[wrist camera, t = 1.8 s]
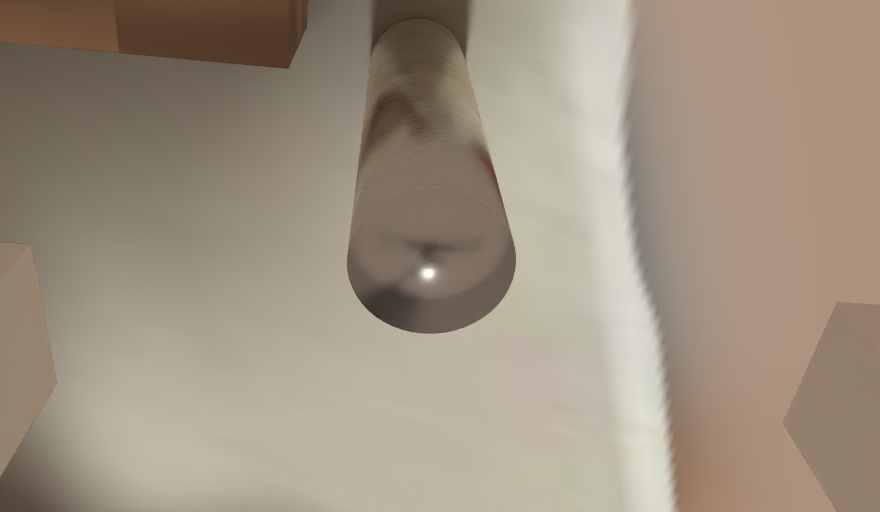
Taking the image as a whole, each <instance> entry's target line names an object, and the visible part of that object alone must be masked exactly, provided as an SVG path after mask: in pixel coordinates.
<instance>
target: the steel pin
mask: <svg viewBox="0 0 880 512" xmlns="http://www.w3.org/2000/svg"><path fill="white" fill-rule="evenodd" d="M515 265H516V253H515V247H514V242H513V238H512V235H511V231H510V227H509V223H508V220H507V216H506V212H505V208H504V205H503V201H502V197H501V193H500V190H499V186H498V182H497V178H496V175H495V171H494V167H493V163H492V160H491V156H490V152H489V148H488V145H487V141H486V137H485V133H484V130H483V126H482V122H481V118H480V115H479V111H478V107H477V103H476V100H475V96H474V92H473V88H472V85H471V81H470V77H469V73H468V70H467V66H466V62H465V58H464V55H463V51H462V48H461V46H460V44H459V42H458V40H457V39H456V37H455V36H454V35H453V34H452V33H451V32H450V31H449V30H448V29H447V28H446V27H444V26H443V25H441V24H439V23H437V22H435V21H432V20H428V19H423V18H413V19H407V20H403V21H400V22H398V23H396V24H394V25H392V26H391V27H389V28H388V29H387V30H386V31H385V32H384V33H383V34H382V35H381V36H380V37H379V39H378V40H377V42H376V44H375V46H374V49H373V52H372V55H371V63H370V71H369V79H368V88H367V96H366V105H365V113H364V121H363V130H362V138H361V147H360V155H359V164H358V172H357V180H356V189H355V197H354V206H353V214H352V223H351V231H350V239H349V248H348V256H347V269H348V275H349V279H350V282H351V285H352V288H353V290H354V292H355V294H356V296H357V297H358V299H359V300H360V301H361V303H362V304H363V305H364V306H365V307H366V308H367V309H368V310H369V311H370V312H371V313H372V314H373V315H375V316H376V317H377V318H379V319H380V320H382V321H383V322H385V323H387V324H389V325H391V326H393V327H396V328H399V329H402V330H406V331H410V332H416V333H433V334H434V333H444V332H449V331H454V330H457V329H460V328H464V327H466V326H468V325H470V324H473V323H475V322H476V321H478V320H480V319H481V318H483V317H484V316H486V315H487V314H488V313H490V312H491V311H492V310H493V309H494V308H495V307H496V306H497V305H498V304H499V303H500V301H501V300H502V299H503V297H504V296H505V294H506V293H507V291H508V289H509V287H510V285H511V282H512V280H513V276H514V272H515Z"/></svg>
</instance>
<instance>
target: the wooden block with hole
mask: <svg viewBox="0 0 880 512" xmlns="http://www.w3.org/2000/svg"><path fill="white" fill-rule="evenodd" d="M306 27H307V0H0V42H7V43H18V44H29V45H40V46H50V47H61V48H72V49H83V50H93V51H104V52H115V53H126V54H136V55H147V56H158V57H168V58H179V59H190V60H201V61H211V62H222V63H233V64H244V65H254V66H265V67H276V68H287V69H288V68H289V66H290V64H291V61H292V59H293V57H294V55H295V52H296V50H297V48H298V45H299V43H300V41H301V39H302V36H303V34H304V32H305V30H306Z"/></svg>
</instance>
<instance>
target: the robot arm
mask: <svg viewBox="0 0 880 512" xmlns="http://www.w3.org/2000/svg"><path fill="white" fill-rule="evenodd" d="M56 384H57V380H56V375H55V369H54V364H53V359H52V353H51V348H50V343H49V338H48V332H47V327H46V322H45V316H44V311H43V306H42V301H41V295H40V290H39V285H38V279H37V274H36V269H35V263H34V258H33V253H32V248H31V244H17V243H3V242H0V477H1V475H2V473H3V472H4V470H5V468H6V467H7V465H8V463H9V462H10V460H11V458H12V457H13V455H14V453H15V452H16V450H17V448H18V447H19V445H20V444H21V442H22V440H23V439H24V437H25V435H26V434H27V432H28V430H29V429H30V427H31V425H32V424H33V422H34V420H35V419H36V417H37V415H38V414H39V412H40V410H41V409H42V407H43V405H44V404H45V402H46V400H47V399H48V397H49V395H50V394H51V392H52V390H53V389H54V387H55V385H56ZM783 425H784V426H785V428H786V430H787V431H788V433H789V435H790V436H791V438H792V439H793V441H794V443H795V444H796V446H797V448H798V449H799V451H800V452H801V454H802V456H803V457H804V459H805V460H806V462H807V464H808V466H809V467H810V469H811V470H812V472H813V474H814V475H815V477H816V479H817V480H818V482H819V483H820V485H821V486H822V488H823V490H824V491H825V493H826V495H827V496H828V498H829V500H830V501H831V503H832V505H833V506H834V508H835V509H836V510H837V512H880V305H875V304H862V303H847V302H837V303H836V305H835V307H834V309H833V312H832V314H831V316H830V319H829V321H828V323H827V325H826V327H825V330H824V332H823V334H822V336H821V339H820V341H819V343H818V345H817V347H816V349H815V352H814V354H813V356H812V358H811V361H810V363H809V365H808V367H807V370H806V372H805V374H804V376H803V378H802V381H801V383H800V385H799V387H798V389H797V392H796V394H795V396H794V398H793V400H792V403H791V405H790V407H789V409H788V412H787V414H786V416H785V418H784V420H783Z"/></svg>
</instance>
